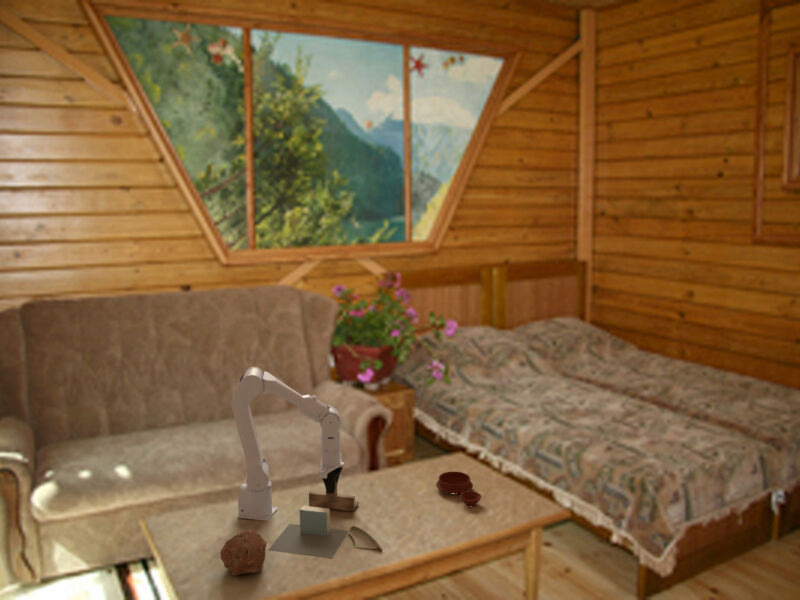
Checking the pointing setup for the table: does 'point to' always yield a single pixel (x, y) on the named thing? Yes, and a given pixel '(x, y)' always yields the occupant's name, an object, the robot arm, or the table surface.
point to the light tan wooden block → (314, 520)
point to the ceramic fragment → (363, 539)
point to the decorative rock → (244, 553)
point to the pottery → (458, 486)
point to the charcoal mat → (308, 542)
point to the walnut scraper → (332, 500)
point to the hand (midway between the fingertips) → (331, 491)
